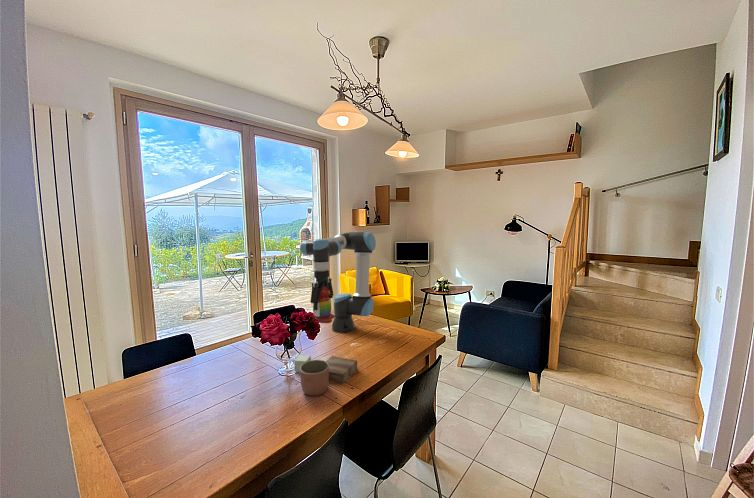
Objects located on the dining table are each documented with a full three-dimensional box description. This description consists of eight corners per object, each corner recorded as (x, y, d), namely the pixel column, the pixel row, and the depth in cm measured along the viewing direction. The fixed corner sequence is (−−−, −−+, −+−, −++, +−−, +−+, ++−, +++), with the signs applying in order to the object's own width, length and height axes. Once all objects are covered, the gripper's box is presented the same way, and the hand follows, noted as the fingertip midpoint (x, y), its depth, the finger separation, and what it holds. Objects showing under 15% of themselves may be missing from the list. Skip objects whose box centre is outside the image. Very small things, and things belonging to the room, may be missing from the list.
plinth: (332, 365, 155) (332, 355, 155) (357, 370, 150) (356, 360, 149) (317, 379, 142) (316, 368, 142) (343, 385, 137) (343, 374, 136)
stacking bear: (331, 323, 150) (329, 288, 148) (310, 323, 151) (309, 288, 149) (335, 316, 161) (334, 283, 159) (316, 316, 162) (315, 283, 160)
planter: (319, 379, 141) (318, 357, 140) (335, 390, 132) (334, 366, 131) (295, 390, 133) (294, 366, 131) (311, 402, 124) (309, 377, 123)
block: (299, 366, 154) (299, 354, 153) (311, 367, 153) (310, 355, 152) (294, 372, 148) (294, 360, 147) (306, 373, 147) (306, 361, 147)
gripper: (327, 266, 165) (329, 306, 167) (301, 273, 145) (303, 318, 147) (339, 266, 161) (340, 308, 164) (314, 274, 142) (315, 320, 144)
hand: (322, 313), depth 155 cm, fingers closed on stacking bear, 9 cm apart
